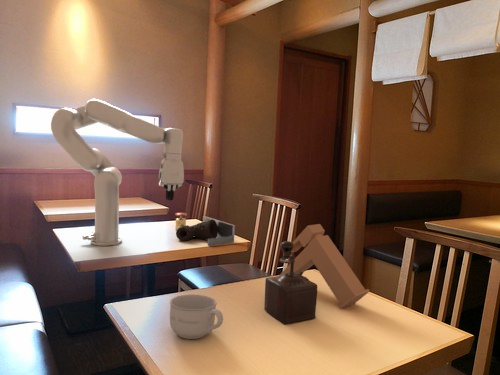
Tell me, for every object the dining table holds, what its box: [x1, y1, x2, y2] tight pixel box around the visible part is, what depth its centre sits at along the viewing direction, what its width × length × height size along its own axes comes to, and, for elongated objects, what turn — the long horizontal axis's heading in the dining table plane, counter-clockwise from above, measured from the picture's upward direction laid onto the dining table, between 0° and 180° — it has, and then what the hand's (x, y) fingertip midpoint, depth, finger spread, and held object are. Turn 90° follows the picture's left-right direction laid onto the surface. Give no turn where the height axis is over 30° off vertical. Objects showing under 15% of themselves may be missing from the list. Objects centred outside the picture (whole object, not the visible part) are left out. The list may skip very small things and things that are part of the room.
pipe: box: [175, 218, 218, 242], centre depth 188 cm, size 10×15×15 cm
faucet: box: [278, 223, 371, 310], centre depth 126 cm, size 7×23×25 cm
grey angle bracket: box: [202, 215, 236, 247], centre depth 190 cm, size 14×24×8 cm, turn 40°
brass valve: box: [174, 212, 188, 232], centre depth 204 cm, size 6×6×9 cm
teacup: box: [169, 293, 224, 340], centre depth 95 cm, size 14×11×8 cm
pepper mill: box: [263, 240, 318, 326], centre depth 111 cm, size 16×11×18 cm
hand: (169, 199), depth 176 cm, fingers closed
